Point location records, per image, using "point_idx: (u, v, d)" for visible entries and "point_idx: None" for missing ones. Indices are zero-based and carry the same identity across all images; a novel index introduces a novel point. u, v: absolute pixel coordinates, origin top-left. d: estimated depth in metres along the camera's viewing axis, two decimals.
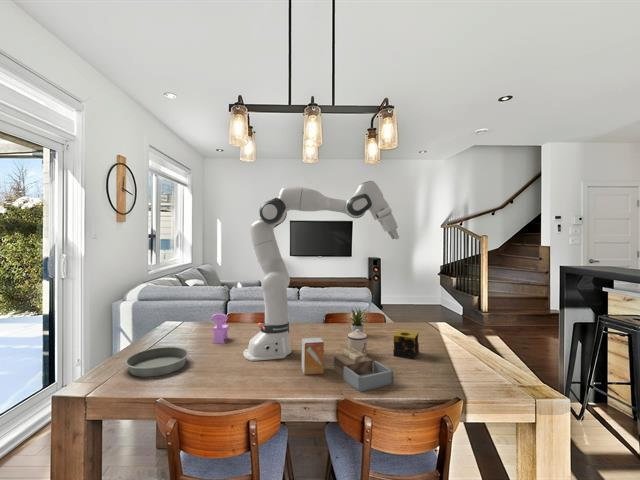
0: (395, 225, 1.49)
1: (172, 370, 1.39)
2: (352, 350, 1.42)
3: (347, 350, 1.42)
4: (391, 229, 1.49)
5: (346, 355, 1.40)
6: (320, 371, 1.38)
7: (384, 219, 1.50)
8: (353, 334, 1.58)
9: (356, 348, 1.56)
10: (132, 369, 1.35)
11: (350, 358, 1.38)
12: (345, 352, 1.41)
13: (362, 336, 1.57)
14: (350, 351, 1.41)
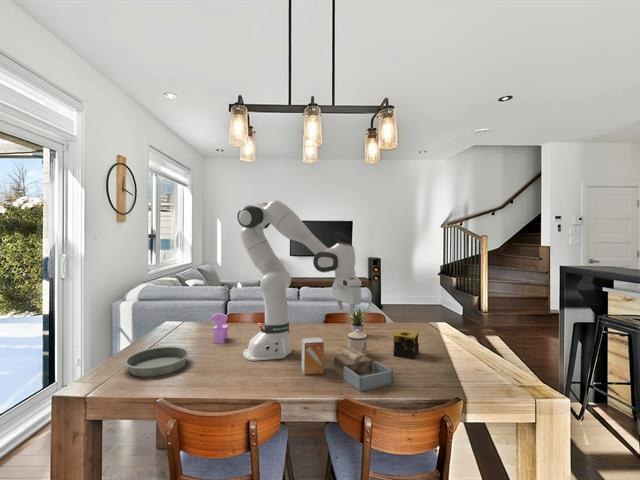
0: (359, 301, 1.40)
1: (172, 370, 1.39)
2: (352, 350, 1.42)
3: (347, 350, 1.42)
4: (354, 303, 1.39)
5: (346, 355, 1.40)
6: (320, 371, 1.38)
7: (352, 290, 1.39)
8: (353, 334, 1.58)
9: (356, 348, 1.56)
10: (132, 369, 1.35)
11: (350, 358, 1.38)
12: (345, 352, 1.41)
13: (362, 336, 1.57)
14: (350, 351, 1.41)
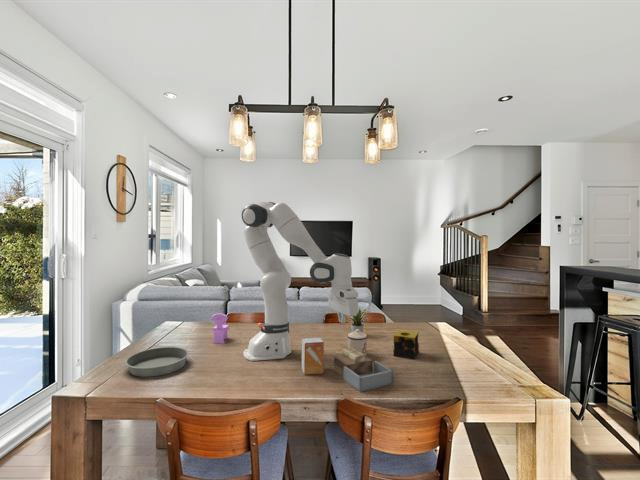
0: (356, 312, 1.40)
1: (172, 370, 1.39)
2: (352, 350, 1.42)
3: (347, 350, 1.42)
4: (351, 315, 1.39)
5: (346, 355, 1.40)
6: (320, 371, 1.38)
7: (349, 302, 1.39)
8: (353, 334, 1.58)
9: (356, 348, 1.56)
10: (132, 369, 1.35)
11: (350, 358, 1.38)
12: (345, 352, 1.41)
13: (362, 336, 1.57)
14: (350, 351, 1.41)
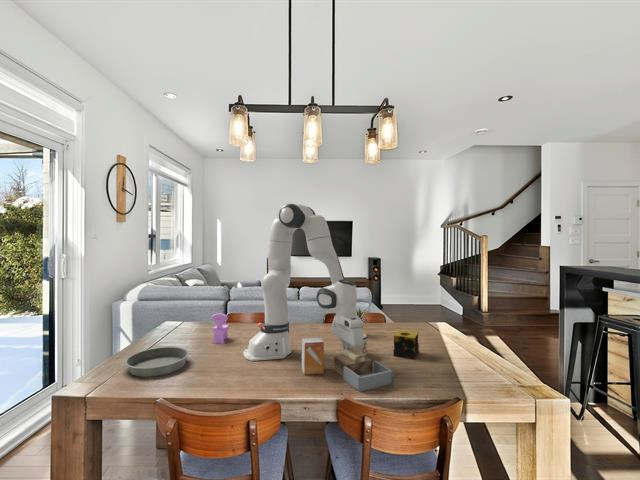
0: (361, 342, 1.37)
1: (172, 370, 1.39)
2: (352, 350, 1.42)
3: (347, 350, 1.42)
4: (356, 345, 1.36)
5: (346, 355, 1.40)
6: (320, 371, 1.38)
7: (354, 332, 1.36)
8: None
9: (356, 348, 1.56)
10: (132, 369, 1.35)
11: (350, 358, 1.38)
12: (345, 352, 1.41)
13: None
14: (351, 351, 1.40)
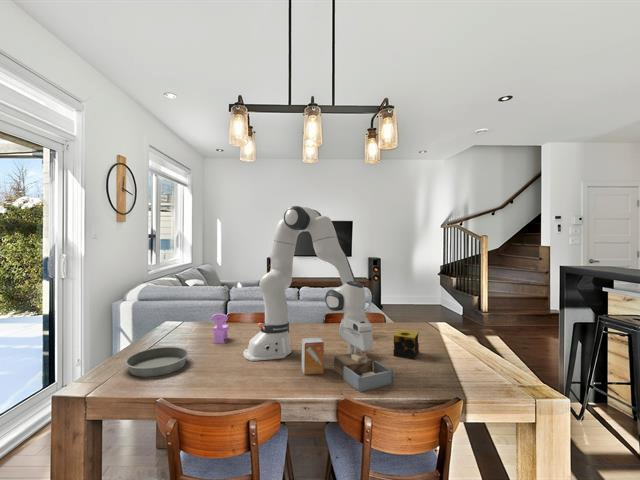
0: (371, 347, 1.31)
1: (172, 370, 1.39)
2: (361, 355, 1.36)
3: (356, 355, 1.36)
4: (365, 350, 1.30)
5: (355, 360, 1.34)
6: (320, 371, 1.38)
7: (363, 336, 1.30)
8: None
9: None
10: (132, 369, 1.35)
11: None
12: (354, 357, 1.35)
13: None
14: (359, 356, 1.35)
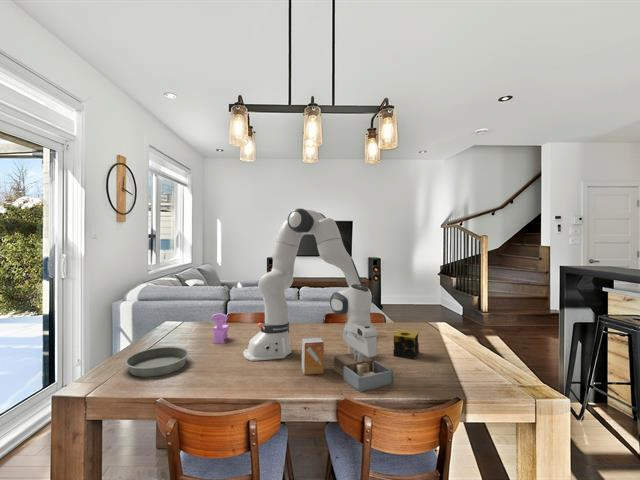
0: (375, 353, 1.27)
1: (172, 370, 1.39)
2: (365, 372, 1.33)
3: (361, 371, 1.32)
4: (369, 356, 1.26)
5: (357, 373, 1.33)
6: (320, 371, 1.38)
7: (368, 341, 1.26)
8: None
9: None
10: (132, 369, 1.35)
11: None
12: (358, 371, 1.32)
13: None
14: None
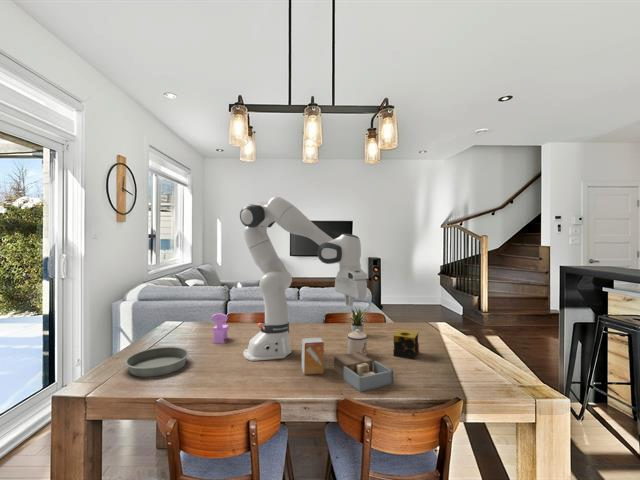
0: (365, 295, 1.34)
1: (172, 370, 1.39)
2: (365, 372, 1.33)
3: (361, 371, 1.32)
4: (359, 297, 1.33)
5: (357, 373, 1.33)
6: (320, 371, 1.38)
7: (358, 283, 1.33)
8: (353, 334, 1.58)
9: (356, 348, 1.56)
10: (132, 369, 1.35)
11: None
12: (358, 371, 1.32)
13: (362, 336, 1.57)
14: None
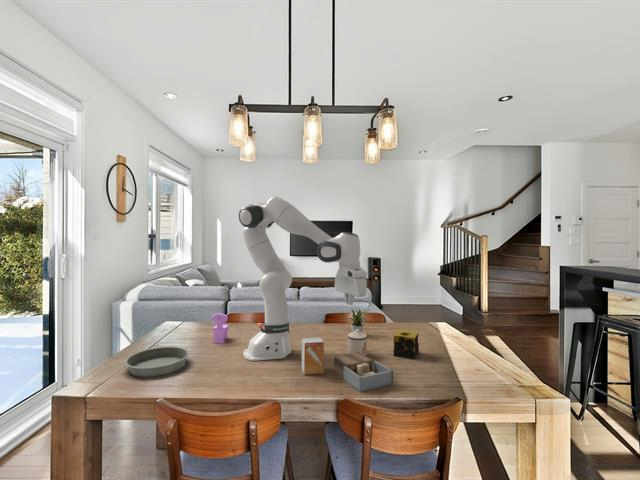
0: (365, 293, 1.34)
1: (172, 370, 1.39)
2: (365, 372, 1.33)
3: (361, 371, 1.32)
4: (359, 295, 1.33)
5: (357, 373, 1.33)
6: (320, 371, 1.38)
7: (357, 281, 1.33)
8: (353, 334, 1.58)
9: (356, 348, 1.56)
10: (132, 369, 1.35)
11: None
12: (358, 371, 1.32)
13: (362, 336, 1.57)
14: None
